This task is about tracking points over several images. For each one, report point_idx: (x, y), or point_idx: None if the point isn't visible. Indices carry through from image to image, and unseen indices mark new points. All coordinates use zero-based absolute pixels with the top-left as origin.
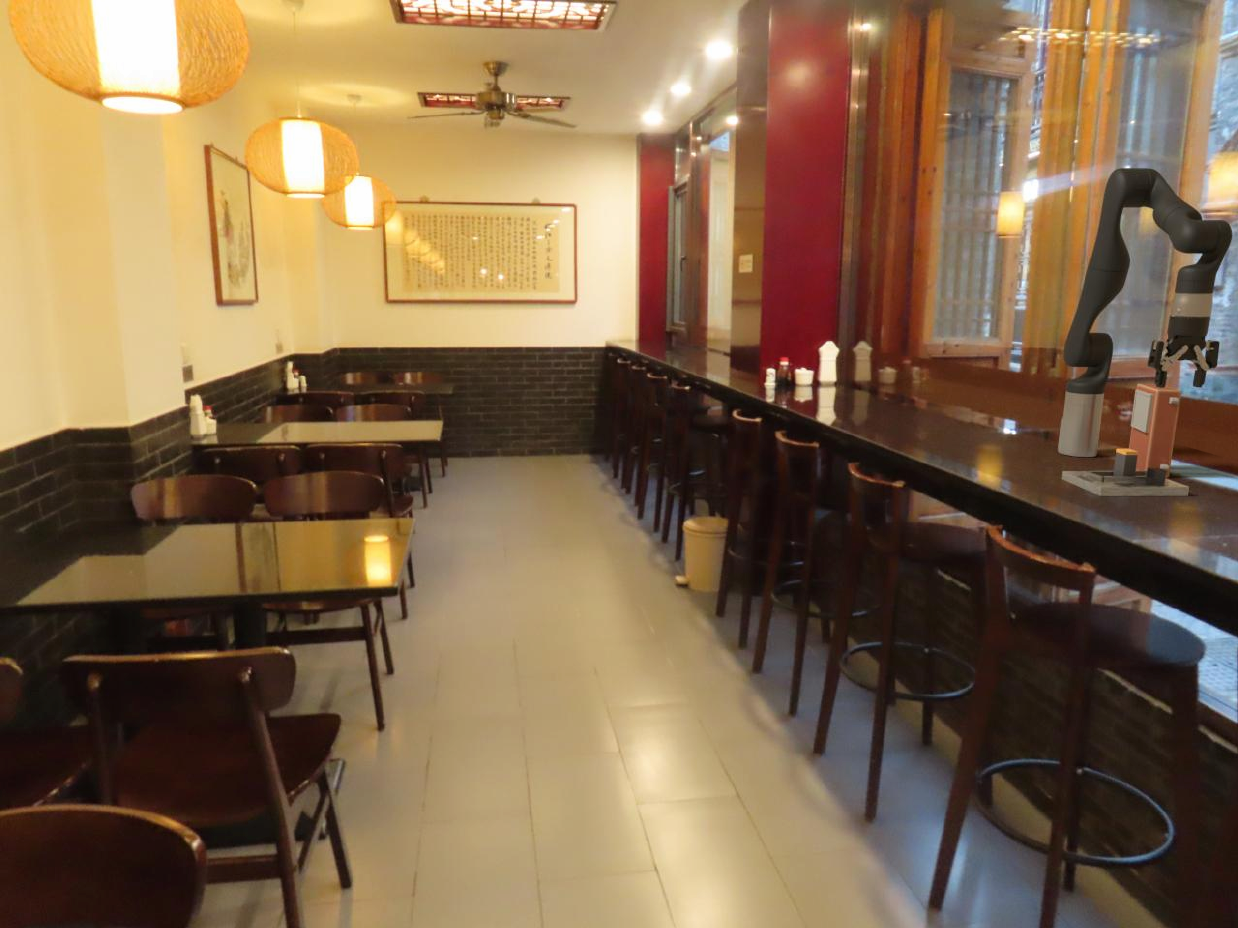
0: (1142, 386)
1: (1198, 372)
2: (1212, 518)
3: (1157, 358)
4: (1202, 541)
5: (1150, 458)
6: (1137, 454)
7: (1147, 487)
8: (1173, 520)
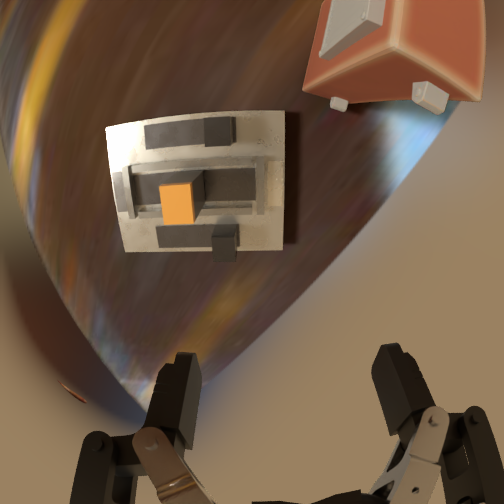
0: None
1: (397, 417)
2: (230, 344)
3: (115, 498)
4: None
5: (315, 88)
6: (194, 221)
7: (203, 250)
8: (179, 347)
